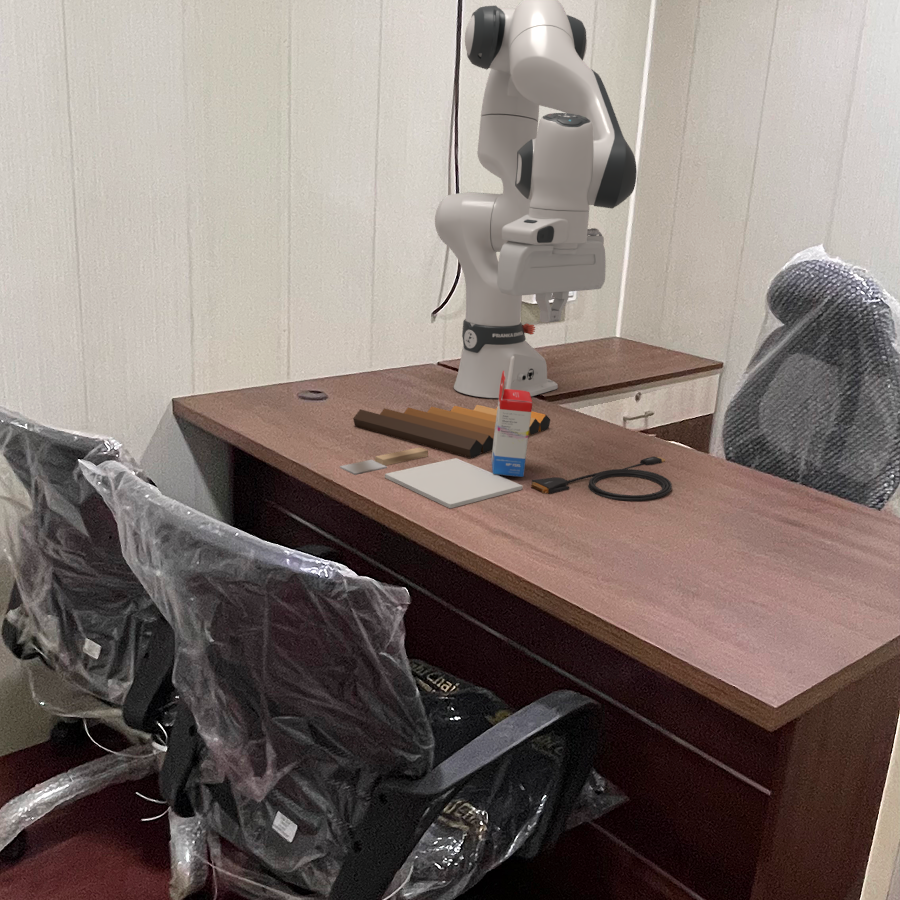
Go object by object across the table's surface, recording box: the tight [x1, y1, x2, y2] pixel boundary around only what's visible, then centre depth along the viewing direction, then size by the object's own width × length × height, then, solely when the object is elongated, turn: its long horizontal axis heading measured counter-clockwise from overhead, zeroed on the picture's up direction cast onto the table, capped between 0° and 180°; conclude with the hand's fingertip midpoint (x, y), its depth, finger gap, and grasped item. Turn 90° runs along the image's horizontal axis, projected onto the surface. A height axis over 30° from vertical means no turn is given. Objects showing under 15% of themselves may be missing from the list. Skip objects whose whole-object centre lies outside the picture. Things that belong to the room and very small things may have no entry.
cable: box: [530, 455, 673, 502], centre depth 145 cm, size 14×28×2 cm, turn 126°
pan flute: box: [352, 404, 551, 459], centre depth 169 cm, size 25×3×25 cm
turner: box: [339, 446, 429, 476], centre depth 149 cm, size 15×4×1 cm, turn 130°
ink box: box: [491, 370, 533, 478], centre depth 147 cm, size 8×5×15 cm, turn 179°
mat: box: [384, 457, 523, 509], centre depth 142 cm, size 14×15×1 cm
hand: (550, 321), depth 146 cm, fingers closed
